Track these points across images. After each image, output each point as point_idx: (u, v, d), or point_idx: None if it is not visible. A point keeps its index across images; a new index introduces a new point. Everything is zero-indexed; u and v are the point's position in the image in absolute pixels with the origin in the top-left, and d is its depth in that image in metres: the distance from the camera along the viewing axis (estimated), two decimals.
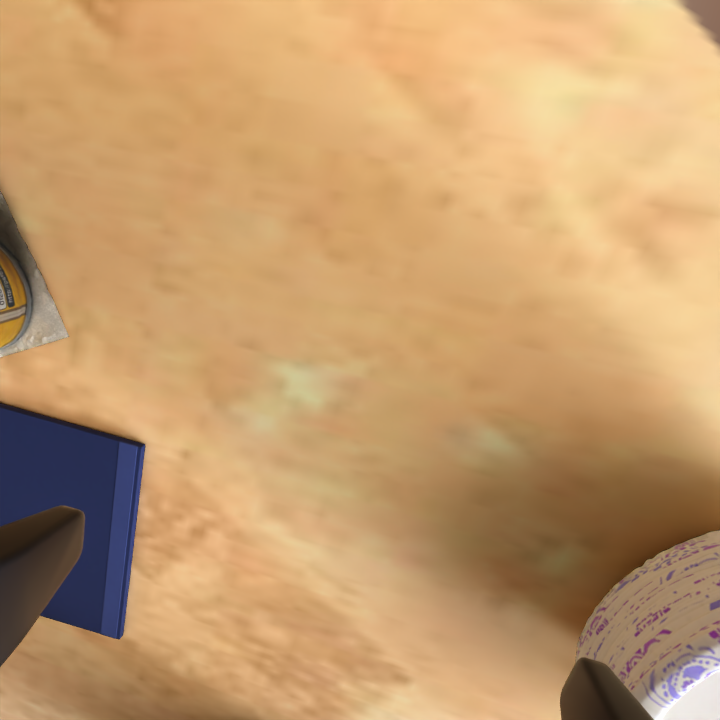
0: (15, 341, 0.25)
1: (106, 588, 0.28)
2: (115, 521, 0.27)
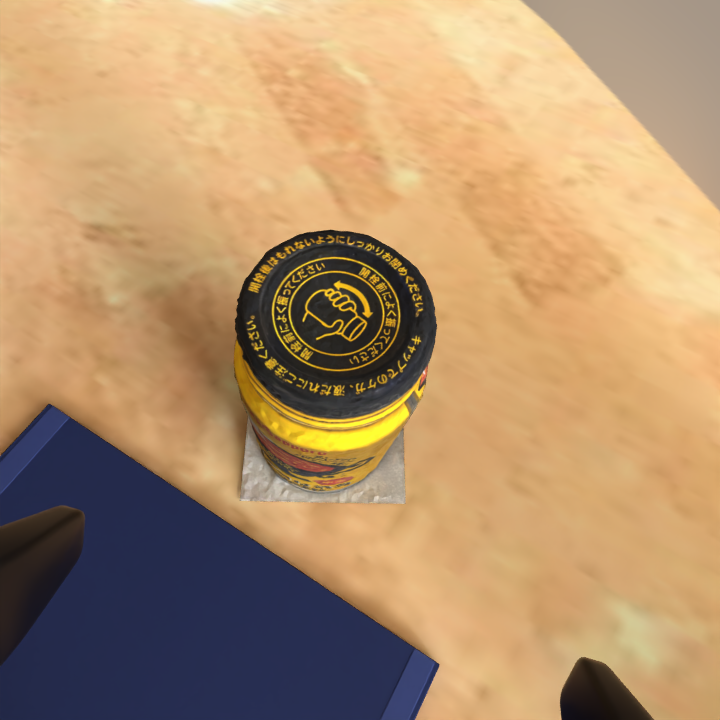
0: (341, 489, 0.23)
1: None
2: None
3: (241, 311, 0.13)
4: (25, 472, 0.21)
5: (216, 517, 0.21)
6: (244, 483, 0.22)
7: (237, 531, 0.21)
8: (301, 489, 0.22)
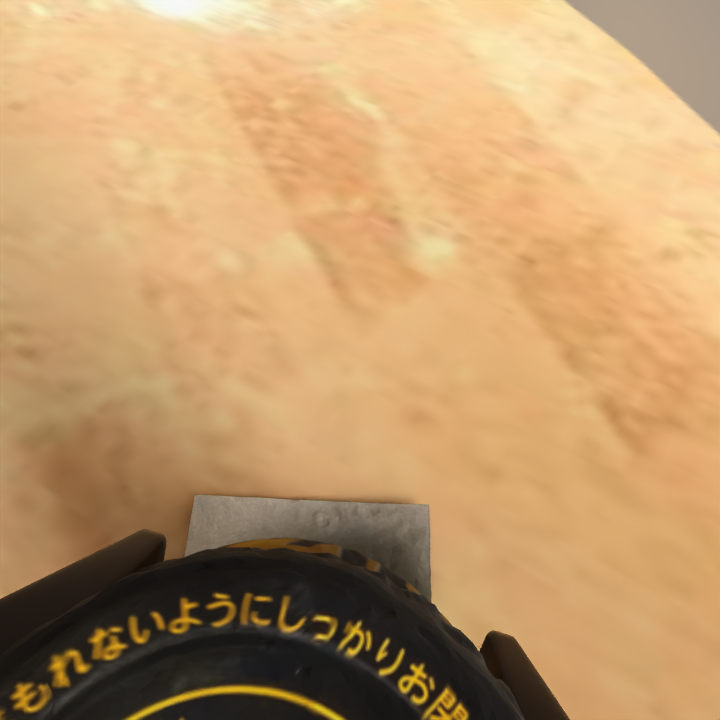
0: None
1: None
2: None
3: None
4: None
5: None
6: None
7: None
8: None
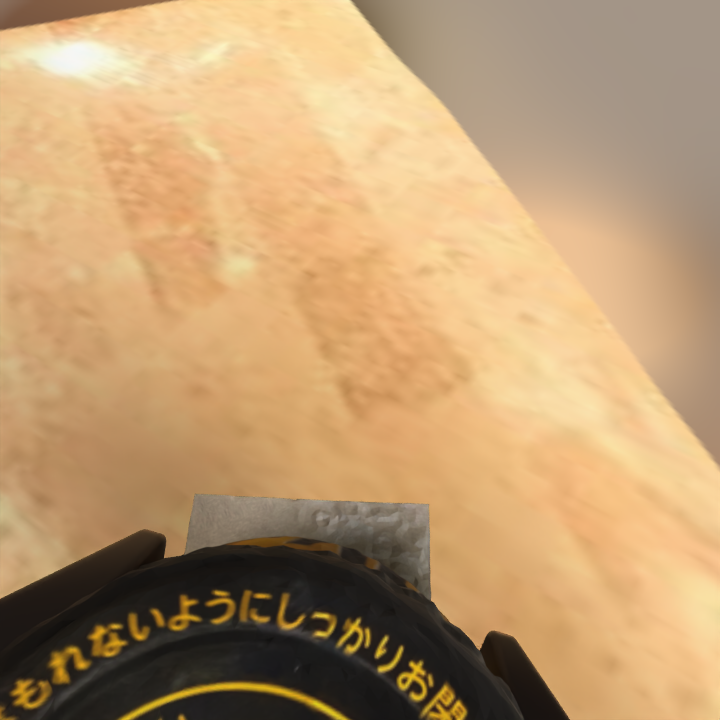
0: None
1: None
2: None
3: None
4: None
5: None
6: None
7: None
8: None
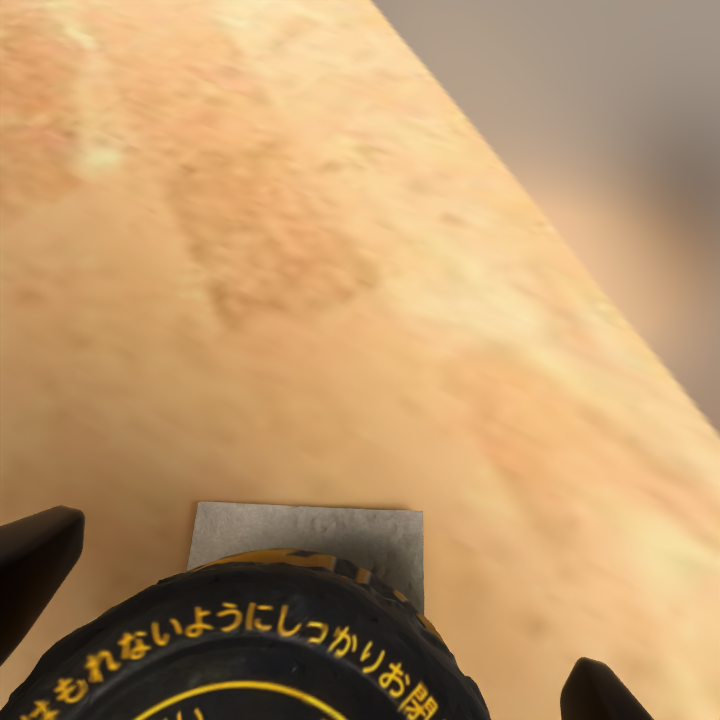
0: None
1: None
2: None
3: None
4: None
5: None
6: None
7: None
8: None
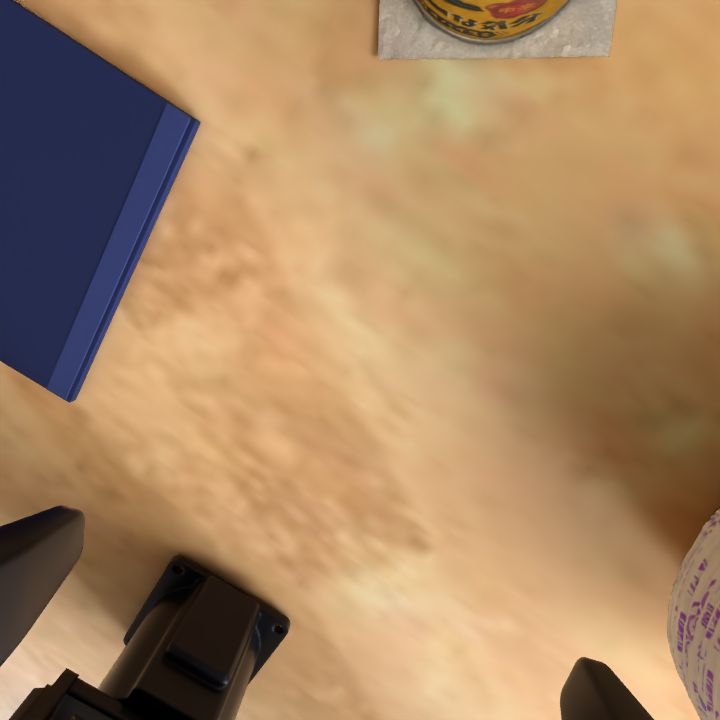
0: (516, 38, 0.16)
1: (75, 324, 0.21)
2: (119, 227, 0.19)
3: None
4: None
5: None
6: (382, 34, 0.17)
7: None
8: (459, 39, 0.16)
